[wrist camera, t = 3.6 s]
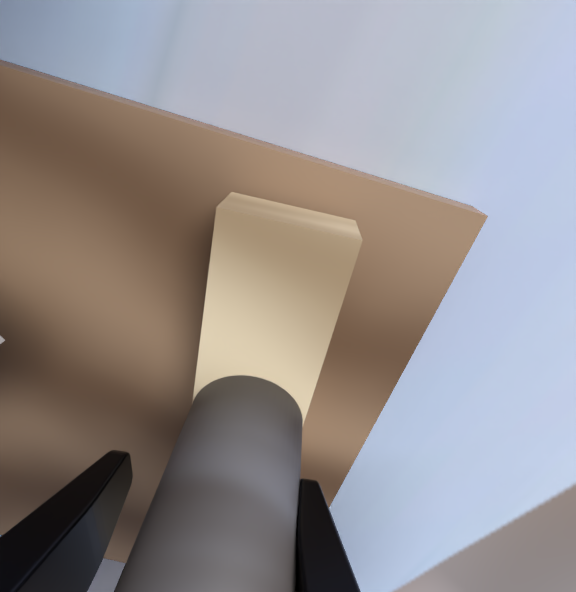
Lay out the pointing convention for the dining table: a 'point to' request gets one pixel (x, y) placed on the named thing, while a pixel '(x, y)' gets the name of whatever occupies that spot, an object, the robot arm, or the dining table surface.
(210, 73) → the dining table surface
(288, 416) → the lever
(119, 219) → the keeper board
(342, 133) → the dining table surface
